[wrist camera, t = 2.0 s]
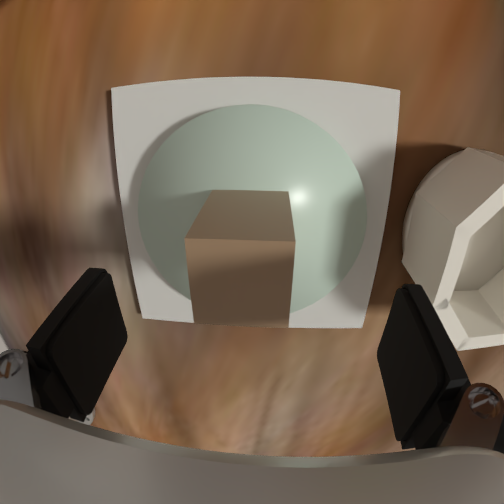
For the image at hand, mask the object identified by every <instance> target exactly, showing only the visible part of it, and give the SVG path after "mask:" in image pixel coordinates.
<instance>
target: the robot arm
mask: <svg viewBox="0 0 504 504" xmlns="http://www.w3.org/2000/svg"><path fill="white" fill-rule="evenodd" d="M126 342H127V331H126V327H125V324H124V321H123V317H122V314H121V310H120V307H119V303H118V300H117V296H116V292H115V288H114V284H113V281H112V277H111V275H110V274H109V273H107V271H106V270H105V269H101V268H89V269H87V270H86V272H85V273H84V274H83V275H82V276H81V277H80V278H79V280H78V281H77V282H76V283H75V284H74V285H73V287H72V288H71V289H70V290H69V291H68V293H67V294H66V295H65V296H64V297H63V299H62V300H61V301H60V302H59V303H58V305H57V306H56V307H55V308H54V310H53V311H52V312H51V313H50V315H49V316H48V317H47V318H46V320H45V321H44V322H43V324H42V325H41V326H40V327H39V329H38V330H37V331H36V333H35V334H34V335H33V337H32V338H31V339H30V341H29V342H28V343H27V345H26V347H27V348H28V350H29V351H28V352H27V353H24V352H23V351H22V350H19V349H10V350H6V351H4V352H2V353H1V354H0V504H504V400H503V398H502V396H501V394H500V393H499V392H498V391H497V390H496V389H495V388H494V387H492V386H491V385H488V384H485V383H475V384H472V385H471V384H470V381H469V379H468V376H467V374H466V372H465V370H464V367H463V365H462V363H461V361H460V359H459V357H458V354H457V352H456V350H455V348H454V346H453V344H452V342H451V340H450V338H449V336H448V334H447V332H446V330H445V328H444V326H443V324H442V322H441V320H440V318H439V316H438V315H437V313H436V311H435V309H434V307H433V305H432V303H431V302H430V300H429V298H428V296H427V294H426V293H425V291H424V289H423V287H422V286H421V285H419V284H404V285H403V286H402V288H401V289H400V288H399V289H397V291H396V294H395V297H394V301H393V304H392V307H391V310H390V314H389V317H388V320H387V323H386V326H385V329H384V332H383V335H382V338H381V341H380V344H379V347H378V350H377V359H378V363H379V367H380V371H381V375H382V379H383V383H384V387H385V391H386V396H387V400H388V405H389V409H390V414H391V418H392V423H393V428H394V433H395V437H396V440H397V441H401V445H402V449H410V448H415V449H416V450H410V451H402V452H393V453H383V454H370V455H355V456H336V457H281V456H261V455H246V454H235V453H225V452H216V451H208V450H201V449H194V448H188V447H181V446H176V445H170V444H165V443H159V442H154V441H150V440H145V439H140V438H136V437H131V436H127V435H123V434H119V433H115V432H111V431H108V430H104V429H101V428H97V427H94V426H90V424H91V423H92V422H93V419H94V417H95V408H94V407H95V405H96V403H97V401H98V398H99V396H100V394H101V392H102V390H103V388H104V386H105V384H106V382H107V380H108V378H109V376H110V374H111V372H112V370H113V368H114V366H115V364H116V362H117V360H118V358H119V356H120V354H121V352H122V350H123V348H124V346H125V344H126Z"/></svg>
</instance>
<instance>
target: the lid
mask: <svg viewBox="0 0 504 504" xmlns="http://www.w3.org/2000/svg"><path fill="white" fill-rule="evenodd" d="M138 220H139V227H140V232H141V236H142V239H143V242H144V245H145V248H146V250H147V252H148V254H149V256H150V258H151V260H152V262H153V263H154V265H155V266H156V268H157V269H158V271H159V272H160V273H161V275H162V276H163V277H164V278H165V279H166V280H167V282H168V283H169V284H170V285H172V286H173V287H174V288H175V289H176V290H177V291H178V292H180V293H181V294H182V295H184V296H185V297H186V298H188V299H189V300H191V304H192V312H193V320H194V323H196V324H210V325H227V326H246V327H271V328H288V327H289V316H290V313H293V312H296V311H298V310H301V309H303V308H305V307H307V306H310V305H312V304H314V303H315V302H317V301H318V300H320V299H321V298H323V297H324V296H326V295H327V294H328V293H329V292H331V291H332V290H333V289H334V288H335V287H336V286H337V285H338V284H339V283H340V282H341V281H342V280H343V279H344V277H345V276H346V275H347V273H348V272H349V271H350V269H351V268H352V266H353V264H354V262H355V261H356V259H357V257H358V255H359V252H360V249H361V247H362V244H363V241H364V236H365V232H366V224H367V204H366V197H365V192H364V188H363V184H362V182H361V179H360V176H359V173H358V171H357V169H356V168H355V166H354V164H353V162H352V160H351V158H350V157H349V156H348V154H347V153H346V152H345V150H344V149H343V148H342V146H341V145H340V144H339V143H338V142H337V141H336V140H335V139H334V138H333V137H332V136H331V135H330V134H329V133H327V132H326V131H325V130H323V129H322V128H321V127H319V126H318V125H317V124H315V123H314V122H312V121H310V120H308V119H307V118H305V117H303V116H301V115H299V114H297V113H294V112H291V111H289V110H286V109H282V108H278V107H273V106H269V105H257V104H245V105H234V106H229V107H224V108H220V109H216V110H213V111H211V112H208V113H205V114H202V115H200V116H198V117H196V118H195V119H193V120H191V121H189V122H187V123H186V124H184V125H183V126H182V127H180V128H179V129H178V130H176V131H175V132H174V133H173V134H172V135H171V136H170V137H169V138H168V139H167V140H166V141H165V142H164V143H163V144H162V145H161V146H160V148H159V149H158V150H157V152H156V153H155V154H154V156H153V158H152V159H151V161H150V163H149V165H148V167H147V169H146V171H145V174H144V177H143V180H142V183H141V187H140V192H139V199H138Z"/></svg>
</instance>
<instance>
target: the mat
mask: <svg viewBox="0 0 504 504" xmlns="http://www.w3.org/2000/svg"><path fill="white" fill-rule="evenodd" d="M111 92H112V114H113V130H114V143H115V154H116V164H117V174H118V182H119V190H120V198H121V206H122V213H123V219H124V226H125V232H126V238H127V244H128V250H129V255H130V261H131V266H132V271H133V276H134V281H135V286H136V291H137V295H138V300H139V304H140V309H141V313H142V317H143V318H147V319H157V320H168V321H179V322H192V323H194V320H193V312H192V304H191V300H189V299H188V298H186V297H185V296H184V295H182V294H181V293H180V292H178V291H177V290H176V289H175V288H174V287H173V286H172V285H170V284H169V283H168V282H167V280H166V279H165V278H164V277H163V276H162V275H161V273H160V272H159V271H158V269H157V268H156V266H155V265H154V263H153V262H152V260H151V258H150V256H149V254H148V252H147V250H146V248H145V245H144V242H143V239H142V236H141V232H140V227H139V220H138V199H139V192H140V187H141V183H142V180H143V177H144V174H145V171H146V169H147V167H148V165H149V163H150V161H151V159H152V158H153V156H154V154H155V153H156V152H157V150H158V149H159V148H160V146H161V145H162V144H163V143H164V142H165V141H166V140H167V139H168V138H169V137H170V136H171V135H172V134H173V133H174V132H175V131H176V130H178V129H179V128H180V127H182V126H183V125H184V124H186V123H187V122H189V121H191V120H193V119H195V118H196V117H198V116H200V115H202V114H205V113H208V112H211V111H213V110H216V109H220V108H224V107H229V106H234V105H245V104H257V105H269V106H273V107H278V108H282V109H286V110H289V111H291V112H294V113H297V114H299V115H301V116H303V117H305V118H307V119H308V120H310V121H312V122H314V123H315V124H317V125H318V126H319V127H321V128H322V129H323V130H325V131H326V132H327V133H329V134H330V135H331V136H332V137H333V138H334V139H335V140H336V141H337V142H338V143H339V144H340V145H341V146H342V148H343V149H344V150H345V152H346V153H347V154H348V156H349V157H350V158H351V160H352V162H353V164H354V166H355V168H356V169H357V171H358V173H359V176H360V179H361V182H362V184H363V188H364V192H365V197H366V204H367V224H366V232H365V236H364V241H363V244H362V247H361V249H360V252H359V255H358V257H357V259H356V261H355V262H354V264H353V266H352V268H351V269H350V271H349V272H348V273H347V275H346V276H345V277H344V279H343V280H342V281H341V282H340V283H339V284H338V285H337V286H336V287H335V288H334V289H333V290H332V291H331V292H329V293H328V294H327V295H326V296H324V297H323V298H321V299H320V300H318V301H317V302H315V303H314V304H312V305H310V306H307V307H305V308H303V309H301V310H298V311H296V312H293V313H290V316H289V327H291V328H362V326H363V322H364V318H365V315H366V311H367V307H368V303H369V299H370V294H371V290H372V286H373V282H374V277H375V273H376V268H377V263H378V258H379V254H380V248H381V243H382V238H383V233H384V227H385V221H386V216H387V209H388V203H389V197H390V190H391V183H392V175H393V167H394V159H395V150H396V140H397V129H398V117H399V102H400V90H395V89H389V88H383V87H377V86H370V85H363V84H356V83H347V82H338V81H328V80H317V79H303V78H283V77H215V78H196V79H182V80H170V81H160V82H151V83H143V84H135V85H128V86H122V87H115V88H111Z"/></svg>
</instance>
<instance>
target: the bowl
mask: <svg viewBox="0 0 504 504" xmlns="http://www.w3.org/2000/svg"><path fill="white" fill-rule="evenodd" d="M402 248H403V258H402V263H403V265H404V267H405V268H406V270H407V271H408V273H409V274H410V276H411V278H412V279H413V281H414V282H415V284H419V285H421V286H422V287H423V289H424V291H425V293H426V294H427V296H428V298H429V300H430V302H431V303H432V305H433V307H434V309H435V311H436V313H437V315H438V316H439V318H440V320H441V322H442V324H443V326H444V328H445V330H446V332H447V334H448V336H449V338H450V339H451V341H452V343H453V344H454V346H455V347H456V349H457V351H459V350H467V349H475V348H483V347H490V346H497V345H503V344H504V156H502V155H498V154H495V153H493V152H490V151H487V150H482V149H474V148H469V147H467V148H466V149H465V150H463V151H459V152H457V153H454V154H452V155H450V156H448V157H446V158H445V159H443V160H442V161H440V162H439V163H438V164H436V165H435V166H434V167H433V168H432V169H431V170H430V171H429V172H428V173H427V175H426V176H425V177H424V178H423V180H422V181H421V182H420V184H419V185H418V187H417V189H416V190H415V192H414V194H413V196H412V198H411V200H410V202H409V205H408V208H407V211H406V214H405V218H404V222H403V230H402Z"/></svg>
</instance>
